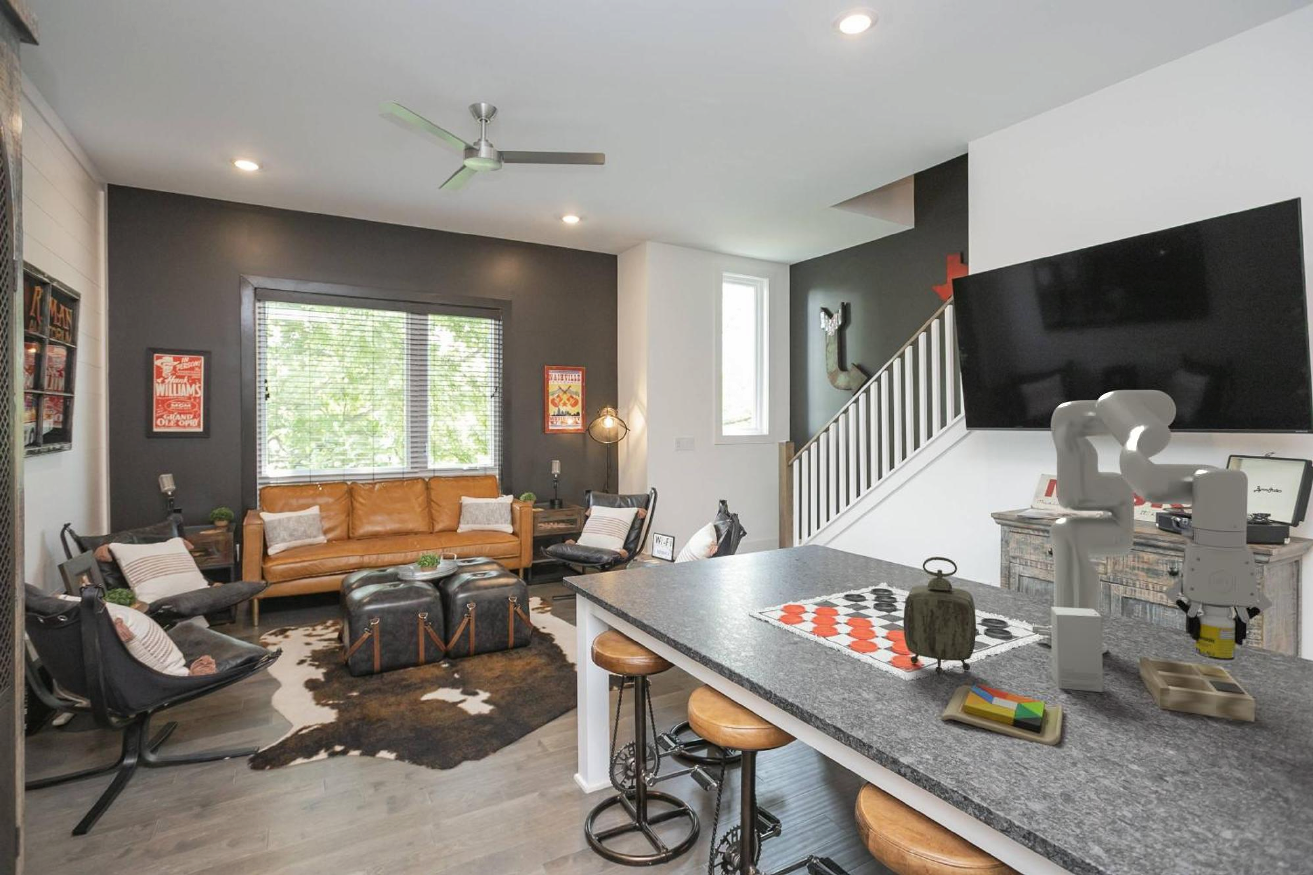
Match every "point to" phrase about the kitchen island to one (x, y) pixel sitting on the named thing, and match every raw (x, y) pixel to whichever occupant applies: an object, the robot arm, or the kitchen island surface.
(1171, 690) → the socket block
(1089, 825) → the kitchen island surface
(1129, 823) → the kitchen island surface
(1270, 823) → the kitchen island surface
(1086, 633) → the skincare box
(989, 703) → the wooden puzzle
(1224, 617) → the supplement bottle
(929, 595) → the tabletop clock
